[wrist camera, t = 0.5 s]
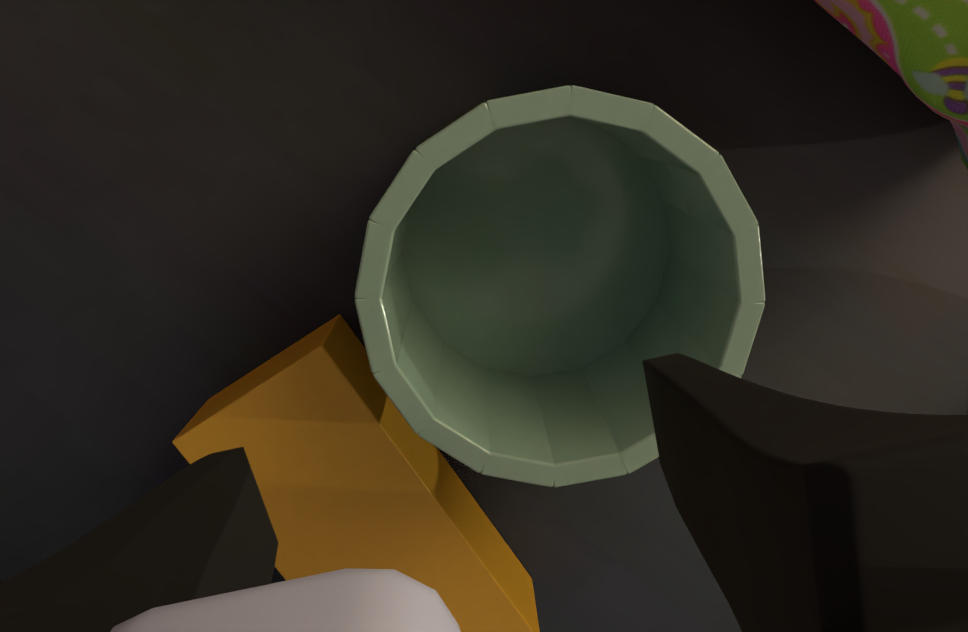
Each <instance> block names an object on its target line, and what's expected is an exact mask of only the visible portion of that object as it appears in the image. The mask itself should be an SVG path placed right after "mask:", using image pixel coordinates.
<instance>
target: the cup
mask: <svg viewBox="0 0 968 632" xmlns="http://www.w3.org/2000/svg"><path fill="white" fill-rule="evenodd" d="M354 296H355V306H356V310H357V314H358V318H359V323H360V327H361V331H362V336H363V340H364V344H365V348H366V353H367V357H368V361H369V365H370V370H371V372H372V373H373V377H374V378H375V379H376V381H377V382H378V383H379V385H380V386H381V388H382V389H383V390H384V392H385V393H386V394H387V396H388V397H389V399H390V400H391V401H392V403H393V404H394V405H395V407H396V408H397V409H398V411H399V412H400V414H401V415H402V416H403V418H404V419H405V420H406V422H407V423H408V425H409V426H410V427H411V429H412V430H413V431H414V433H416V434H417V435H418V436H419V437H421V438H422V439H424V440H426V441H427V442H429V443H430V444H432V445H434V446H435V447H437V448H438V449H440V450H442V451H443V452H445V453H447V454H448V455H450V456H451V457H453V458H455V459H456V460H458V461H459V462H461V463H463V464H464V465H466V466H468V467H469V468H471V469H472V470H474V471H476V472H477V473H481V474H483V475H488V476H493V477H498V478H504V479H509V480H515V481H520V482H525V483H531V484H536V485H542V486H547V487H553V486H554V487H560V486H566V485H572V484H577V483H583V482H589V481H594V480H600V479H606V478H611V477H617V476H623V475H626V474H627V473H628V474H630V473H632V472H633V471H635V470H637V469H639V468H640V467H642V466H644V465H645V464H647V463H649V462H651V461H652V460H654V459H656V458H657V457H659V454H658V448H657V442H656V436H655V431H654V425H653V419H652V414H651V408H650V402H649V396H648V391H647V385H646V379H645V374H644V368H643V362H642V360H647V359H651V358H656V357H661V356H665V355H670V354H674V353H680V354H683V355H686V356H688V357H691V358H693V359H696V360H698V361H700V362H703V363H705V364H707V365H710V366H712V367H714V368H717V369H719V370H722V371H724V372H726V373H729V374H731V375H734V376H736V377H739V378H741V375H742V374H743V372H744V369H745V366H746V363H747V360H748V357H749V353H750V350H751V347H752V344H753V341H754V338H755V335H756V332H757V328H758V325H759V322H760V319H761V316H762V313H763V310H764V306H765V303H764V302H765V287H764V276H763V265H762V253H761V242H760V230H759V226H758V221H757V219H756V217H755V215H754V213H753V212H752V210H751V208H750V206H749V204H748V202H747V201H746V199H745V197H744V195H743V193H742V192H741V190H740V188H739V186H738V184H737V182H736V181H735V179H734V177H733V175H732V173H731V172H730V170H729V168H728V166H727V164H726V162H725V161H724V159H723V157H722V155H720V154H719V152H718V151H717V150H715V149H714V148H713V147H711V146H710V145H709V144H707V143H706V142H705V141H703V140H702V139H701V138H699V137H698V136H697V135H695V134H694V133H693V132H691V131H690V130H689V129H687V128H686V127H685V126H683V125H682V124H681V123H679V122H678V121H677V120H675V119H674V118H673V117H671V116H670V115H669V114H667V113H666V112H665V111H663V110H662V109H661V108H659V107H658V106H657V105H653V104H652V103H650V102H645V101H641V100H636V99H632V98H628V97H623V96H619V95H615V94H610V93H606V92H601V91H597V90H593V89H588V88H584V87H579V86H575V85H571V86H570V85H566V86H560V87H554V88H548V89H542V90H537V91H532V92H526V93H521V94H516V95H511V96H505V97H500V98H495V99H489V100H484V101H481V102H479V103H477V104H475V105H474V106H472V107H471V108H469V109H468V110H466V111H465V112H463V113H462V114H460V115H459V116H457V117H456V118H454V119H453V120H451V121H450V122H448V123H447V124H445V125H444V126H442V127H441V128H439V129H438V130H436V131H435V132H433V133H432V134H430V135H429V136H428V137H427V138H426V139H425V140H423V141H422V142H421V143H420V144H419V145H418V146H417V147H416V148H415V149H414V150H413V151H412V152H411V154H410V155H409V157H408V158H407V160H406V161H405V163H404V164H403V166H402V167H401V169H400V170H399V172H398V173H397V175H396V176H395V178H394V180H393V181H392V183H391V184H390V186H389V187H388V189H387V190H386V192H385V193H384V195H383V196H382V198H381V199H380V201H379V202H378V204H377V205H376V207H375V209H374V210H373V212H372V213H371V215H370V216H369V220H368V222H367V226H366V232H365V237H364V243H363V249H362V254H361V260H360V266H359V271H358V277H357V283H356V288H355V294H354Z"/></svg>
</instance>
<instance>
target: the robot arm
mask: <svg viewBox="0 0 968 632" xmlns="http://www.w3.org/2000/svg"><path fill="white" fill-rule="evenodd" d="M642 362H643V368H644V374H645V379H646V385H647V391H648V396H649V402H650V408H651V414H652V419H653V425H654V431H655V436H656V442H657V448H658V454H659V459H660V464H661V467H662V470H663V472H664V475H665V478H666V481H667V483H668V486H669V489H670V491H671V494H672V497H673V499H674V502H675V504H676V507H677V509H678V511H679V513H680V515H681V517H682V519H683V520H684V522H685V524H686V526H687V528H688V530H689V532H690V533H691V535H692V537H693V539H694V541H695V543H696V544H697V546H698V548H699V550H700V552H701V554H702V555H703V557H704V559H705V561H706V563H707V564H708V566H709V568H710V570H711V572H712V574H713V575H714V577H715V579H716V581H717V583H718V584H719V586H720V588H721V590H722V592H723V594H724V595H725V597H726V599H727V601H728V603H729V605H730V607H731V609H732V611H733V613H734V615H735V617H736V619H737V621H738V623H739V625H740V628H741V630H742V632H968V415H924V414H905V413H890V412H881V411H873V410H864V409H856V408H849V407H843V406H837V405H832V404H827V403H823V402H818V401H813V400H809V399H804V398H800V397H796V396H793V395H789V394H785V393H782V392H779V391H776V390H773V389H770V388H767V387H763V386H760V385H758V384H755V383H752V382H749V381H747V380H744V379H741V378H739V377H736V376H734V375H731V374H729V373H726V372H724V371H722V370H719V369H717V368H714V367H712V366H710V365H707V364H705V363H703V362H700V361H698V360H696V359H693V358H691V357H688V356H686V355H683V354H680V353H674V354H670V355H665V356H661V357H656V358H651V359H647V360H642ZM277 549H278V540H277V537H276V534H275V532H274V529H273V526H272V524H271V521H270V518H269V515H268V513H267V510H266V507H265V504H264V502H263V499H262V496H261V494H260V491H259V488H258V485H257V483H256V480H255V477H254V475H253V472H252V469H251V466H250V464H249V461H248V458H247V455H246V453H245V450H244V447H239V448H234V449H230V450H225V451H220V452H216V453H211V454H209V455H207V456H204V457H202V458H200V459H198V460H197V461H195V462H193V463H192V464H190V465H188V466H187V467H185V468H184V469H182V470H181V471H179V472H178V473H176V474H175V475H173V476H172V477H170V478H169V479H167V480H166V481H164V482H163V483H161V484H160V485H159V486H157V487H156V488H154V489H153V490H151V491H150V492H149V493H147V494H146V495H144V496H143V497H141V498H140V499H139V500H137V501H136V502H134V503H133V504H131V505H130V506H129V507H127V508H126V509H124V510H123V511H121V512H120V513H118V514H117V515H115V516H114V517H112V518H111V519H109V520H108V521H106V522H105V523H103V524H102V525H100V526H99V527H97V528H95V529H94V530H92V531H91V532H89V533H88V534H86V535H85V536H83V537H82V538H80V539H79V540H77V541H76V542H74V543H72V544H71V545H69V546H67V547H66V548H64V549H63V550H61V551H59V552H57V553H56V554H54V555H52V556H51V557H49V558H47V559H45V560H43V561H42V562H40V563H38V564H36V565H34V566H33V567H31V568H29V569H27V570H25V571H24V572H22V573H20V574H18V575H16V576H14V577H12V578H10V579H8V580H6V581H4V582H2V583H0V632H461V631H460V628H459V625H458V623H457V622H456V620H455V618H454V617H453V615H452V614H451V612H450V611H449V609H448V608H447V606H446V605H445V603H444V602H443V600H442V599H441V597H440V596H439V594H438V593H437V591H436V590H434V589H432V588H430V587H428V586H426V585H424V584H422V583H420V582H418V581H417V580H415V579H413V578H411V577H409V576H407V575H405V574H403V573H401V572H399V571H397V570H395V569H354V568H345V569H341V570H336V571H331V572H326V573H321V574H316V575H311V576H306V577H302V578H297V579H292V580H287V581H282V582H277V583H272V584H271V582H272V577H273V572H274V567H275V561H276V555H277Z"/></svg>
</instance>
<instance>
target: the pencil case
mask: <svg viewBox="0 0 968 632" xmlns="http://www.w3.org/2000/svg"><path fill="white" fill-rule="evenodd" d="M814 1H815V2H816V3H817V4H819V5H820V6H821V7H822V8H823V9H824V10H826V11H827V12H828V13H829V14H830V15H831V16H833V17H834V18H835V19H836V20H837V21H839V22H840V23H841V24H842V25H843V26H844V27H846V28H847V29H848V30H849V31H850V32H852V33H853V34H854V35H855V36H856V37H857V38H859V39H860V40H861V41H862V42H863V43H864V44H866V45H867V46H868V47H869V48H870V49H871V50H872V51H873V52H875V53H876V54H877V55H878V56H879V57H880V58H881V59H882V60H883V61H884V62H885V63H887V64H888V65H889V66H890V67H891V68H892V69H893V70H894V71H895V72H896V73H897V74H898V75H900V76H901V77H902V79H903V81H904V83H905V85H906V86H907V87H908V88H909V89H910V90H911V91H912V93H913V94H914V95H915V96H916V97H917V98H918V99H919V100H920V101H922V102H923V103H924V104H925V105H926V106H927V107H929V108H930V109H931V110H932V111H933V112H935V113H936V114H938V115H940V116H941V117H943V118H945V119H948V120H950V122H951V124H952V126H953V128H954V130H955V133H956V137H957V142H958V146H959V148H960V153H961V158H962V161H963V163H964V164H965V166H966V167H967V168H968V0H814Z"/></svg>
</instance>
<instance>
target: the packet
mask: <svg viewBox="0 0 968 632" xmlns="http://www.w3.org/2000/svg"><path fill="white" fill-rule="evenodd" d="M172 443H173V444H174V445H175V447H176V448H177V449H178V450H179V451H180V453H181V454H182V455H183V456H184V458H185V459H186V460H187V461H188V462H189V464H192V463H193V462H195V461H197V460H198V459H200V458H202V457H204V456H207V455H209V454H211V453H216V452H220V451H225V450H230V449H234V448H239V447H244V450H245V453H246V455H247V458H248V461H249V464H250V466H251V469H252V472H253V475H254V477H255V480H256V483H257V485H258V488H259V491H260V494H261V496H262V499H263V502H264V504H265V507H266V510H267V513H268V515H269V518H270V521H271V524H272V526H273V529H274V532H275V534H276V537H277V540H278V549H277V555H276V561H275V568H276V569H277V570H278V571H279V572H280V574H281V575H282V576H283V577H284V578H285V580H286V581H287V580H292V579H297V578H302V577H306V576H311V575H316V574H321V573H326V572H331V571H336V570H341V569H345V568H354V569H395V570H397V571H399V572H401V573H403V574H405V575H407V576H409V577H411V578H413V579H415V580H417V581H418V582H420V583H422V584H424V585H426V586H428V587H430V588H432V589H434V590H436V591H437V593H438V594H439V596H440V597H441V599H442V600H443V602H444V603H445V605H446V606H447V608H448V609H449V611H450V612H451V614H452V615H453V617H454V618H455V620H456V622H457V623H458V625H459V628H460V631H461V632H540V631H539V624H538V617H537V610H536V603H535V596H534V589H533V582H532V578H531V577H530V575H529V574H528V573H527V571H526V570H525V568H524V567H523V566H522V564H521V563H520V561H519V560H518V559H517V557H516V556H515V555H514V553H513V552H512V550H511V549H510V548H509V546H508V545H507V544H506V542H505V541H504V539H503V538H502V537H501V535H500V534H499V532H498V531H497V530H496V528H495V527H494V526H493V524H492V523H491V521H490V520H489V519H488V517H487V516H486V515H485V513H484V512H483V510H482V509H481V508H480V506H479V505H478V503H477V502H476V501H475V499H474V498H473V497H472V495H471V494H470V492H469V491H468V490H467V488H466V487H465V486H464V484H463V483H462V481H461V480H460V479H459V477H458V476H457V475H456V473H455V472H454V470H453V469H452V468H451V466H450V465H449V463H448V462H447V461H446V459H445V458H444V457H443V455H442V454H441V452H440V451H439V450H438V448H437V447H435V446H434V445H432V444H430V443H429V442H427V441H426V440H424V439H422V438H421V437H419V436H418V435H417V434H416V433H414V431H413V430H412V429H411V427H410V426H409V425H408V423H407V422H406V420H405V419H404V418H403V416H402V415H401V414H400V412H399V411H398V409H397V408H396V407H395V405H394V404H393V403H392V401H391V400H390V399H389V397H388V396H387V394H386V393H385V392H384V390H383V389H382V388H381V386H380V385H379V383H378V382H377V381H376V379H375V378H374V377H373V373H372V372H371V370H370V365H369V361H368V357H367V353H366V349H365V348H364V346H363V345H362V343H361V342H360V341H359V339H358V338H357V336H356V335H355V334H354V332H353V331H352V330H351V328H350V327H349V325H348V324H347V323H346V321H345V320H344V319H343V317H342V316H341V315H337V316H336V317H334V318H333V319H331V320H330V321H328V322H327V323H325V324H323V325H322V326H320V327H319V328H317V329H316V330H314V331H313V332H311V333H310V334H308V335H306V336H305V337H303V338H302V339H300V340H299V341H297V342H296V343H294V344H293V345H291V346H289V347H288V348H286V349H285V350H283V351H282V352H280V353H279V354H277V355H276V356H274V357H272V358H271V359H269V360H268V361H266V362H265V363H263V364H262V365H260V366H259V367H257V368H255V369H254V370H252V371H251V372H249V373H248V374H246V375H245V376H243V377H242V378H240V379H238V380H237V381H235V382H234V383H232V384H231V385H229V386H228V387H226V388H225V389H223V390H221V391H220V392H218V393H217V394H215V395H214V396H212V397H211V398H209V399H208V400H207V402H206V403H205V404H204V405H203V406H202V407H201V408H200V410H199V411H198V412H197V413H196V414H195V415H194V417H193V418H192V419H191V420H190V421H189V422H188V424H187V425H186V426H185V427H184V428H183V429H182V430H181V432H180V433H179V434H178V435H177V436H176V437H175V439H174V440H173V441H172Z"/></svg>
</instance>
